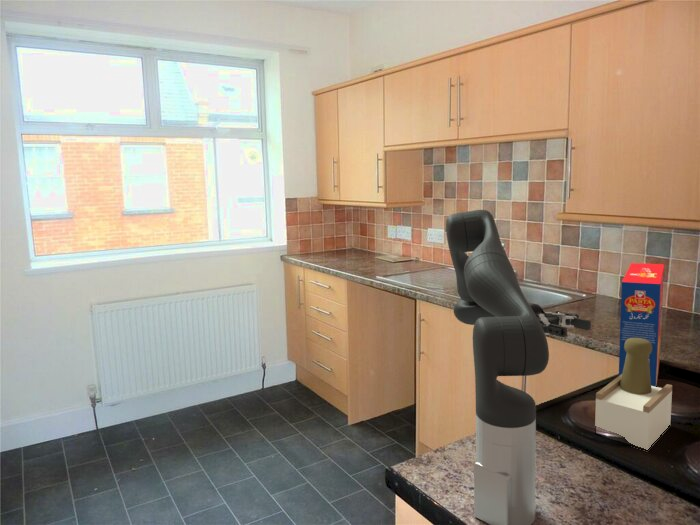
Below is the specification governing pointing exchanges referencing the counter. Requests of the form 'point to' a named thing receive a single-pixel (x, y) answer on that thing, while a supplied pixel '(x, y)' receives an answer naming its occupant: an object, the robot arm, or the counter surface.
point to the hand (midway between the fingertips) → (578, 328)
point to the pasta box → (642, 311)
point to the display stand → (634, 412)
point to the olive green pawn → (637, 366)
